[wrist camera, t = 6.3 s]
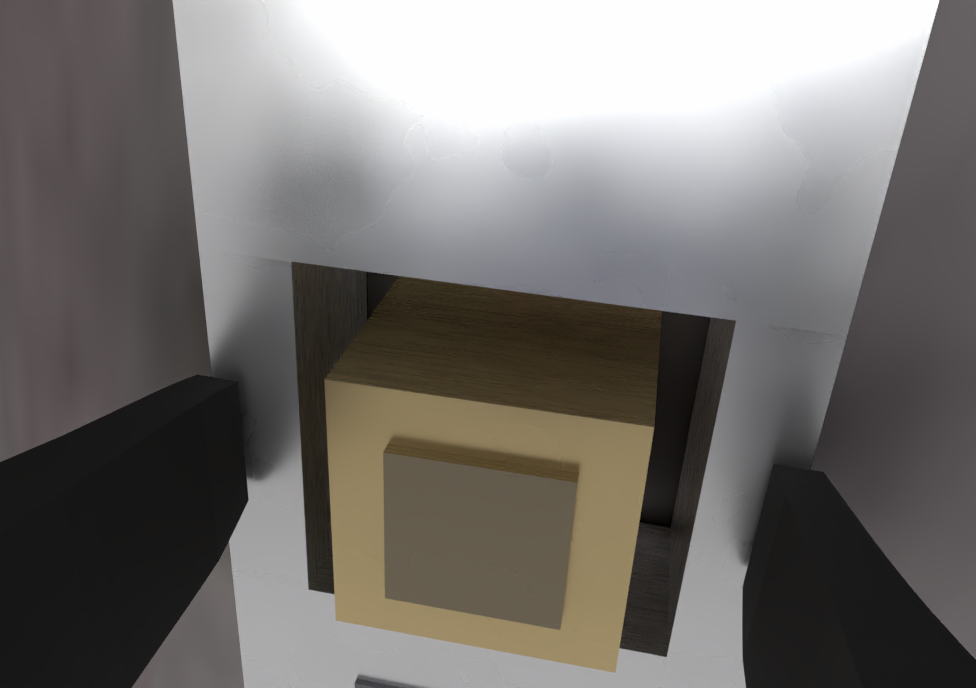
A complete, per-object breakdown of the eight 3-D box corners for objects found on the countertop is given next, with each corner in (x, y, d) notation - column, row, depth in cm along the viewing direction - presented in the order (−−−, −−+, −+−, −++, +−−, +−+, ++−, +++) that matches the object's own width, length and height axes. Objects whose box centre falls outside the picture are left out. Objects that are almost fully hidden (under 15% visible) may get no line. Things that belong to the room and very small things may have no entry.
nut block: (663, 288, 14) (653, 436, 10) (632, 496, 16) (614, 684, 12) (412, 257, 14) (318, 387, 11) (410, 461, 16) (330, 631, 13)
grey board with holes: (917, -179, 10) (996, -197, 8) (652, 917, 21) (646, 1072, 18) (268, -213, 12) (142, -238, 9) (323, 840, 22) (272, 975, 19)
